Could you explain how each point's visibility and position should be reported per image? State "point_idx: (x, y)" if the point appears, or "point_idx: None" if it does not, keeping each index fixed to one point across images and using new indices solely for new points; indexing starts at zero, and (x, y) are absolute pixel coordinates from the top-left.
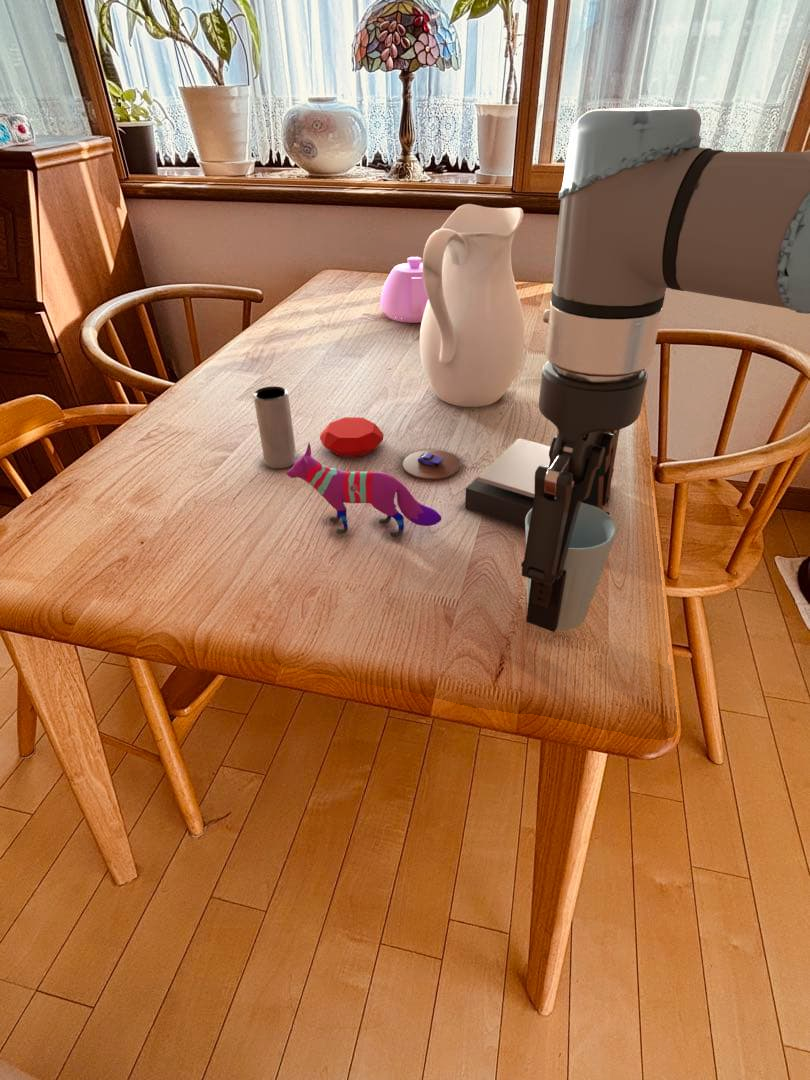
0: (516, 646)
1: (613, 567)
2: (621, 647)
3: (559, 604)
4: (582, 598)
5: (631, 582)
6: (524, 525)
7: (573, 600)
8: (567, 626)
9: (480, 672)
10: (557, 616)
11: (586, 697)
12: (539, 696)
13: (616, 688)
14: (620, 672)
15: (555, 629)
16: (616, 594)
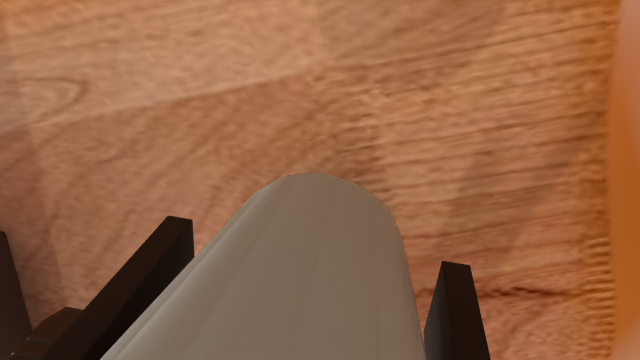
0: (430, 275)
1: (13, 117)
2: (317, 30)
3: (477, 354)
4: (376, 273)
5: (36, 57)
6: (27, 336)
7: (403, 299)
8: (392, 221)
9: (546, 325)
10: (469, 308)
11: (560, 85)
12: (590, 197)
13: (496, 9)
14: (423, 11)
15: (462, 268)
16: (112, 88)
